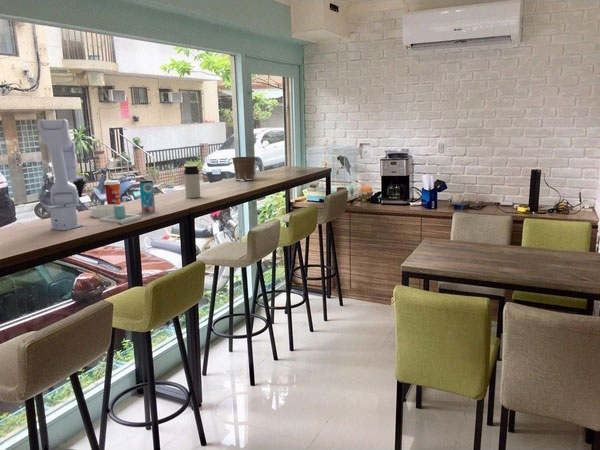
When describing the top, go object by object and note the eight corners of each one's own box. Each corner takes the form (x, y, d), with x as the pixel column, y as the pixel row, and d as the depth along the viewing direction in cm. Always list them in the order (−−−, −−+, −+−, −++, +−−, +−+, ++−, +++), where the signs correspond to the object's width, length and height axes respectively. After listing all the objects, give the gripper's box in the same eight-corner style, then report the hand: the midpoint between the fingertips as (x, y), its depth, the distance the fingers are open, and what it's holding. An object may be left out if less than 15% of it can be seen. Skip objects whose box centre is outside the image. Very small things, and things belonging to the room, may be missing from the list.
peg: (120, 220, 216) (118, 207, 215) (113, 220, 218) (111, 206, 216) (128, 218, 220) (126, 205, 218) (120, 218, 222) (119, 204, 220)
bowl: (106, 219, 222) (105, 209, 221) (85, 218, 227) (84, 208, 226) (127, 214, 233) (126, 205, 232) (106, 213, 238) (105, 203, 237)
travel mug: (190, 198, 276) (188, 166, 272) (183, 197, 282) (181, 165, 278) (203, 197, 281) (201, 164, 278) (195, 195, 287) (193, 164, 283)
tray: (121, 224, 211) (120, 220, 211) (99, 222, 216) (99, 218, 216) (141, 219, 222) (140, 215, 221) (120, 217, 227) (119, 213, 226)
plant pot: (249, 182, 343) (248, 158, 339) (228, 181, 348) (227, 158, 345) (260, 179, 357) (259, 156, 354) (239, 179, 363) (238, 156, 360)
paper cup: (117, 210, 244) (114, 182, 241) (103, 210, 246) (100, 181, 243) (125, 207, 252) (123, 180, 249) (111, 207, 253) (109, 179, 250)
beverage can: (144, 214, 232) (141, 182, 229) (140, 212, 237) (137, 181, 234) (156, 213, 235) (154, 181, 232) (153, 211, 240) (150, 180, 237)
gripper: (75, 165, 228) (79, 195, 231) (48, 169, 215) (52, 200, 218) (87, 166, 225) (90, 196, 228) (60, 169, 212) (63, 201, 215)
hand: (72, 198), depth 223 cm, fingers open, 7 cm apart
